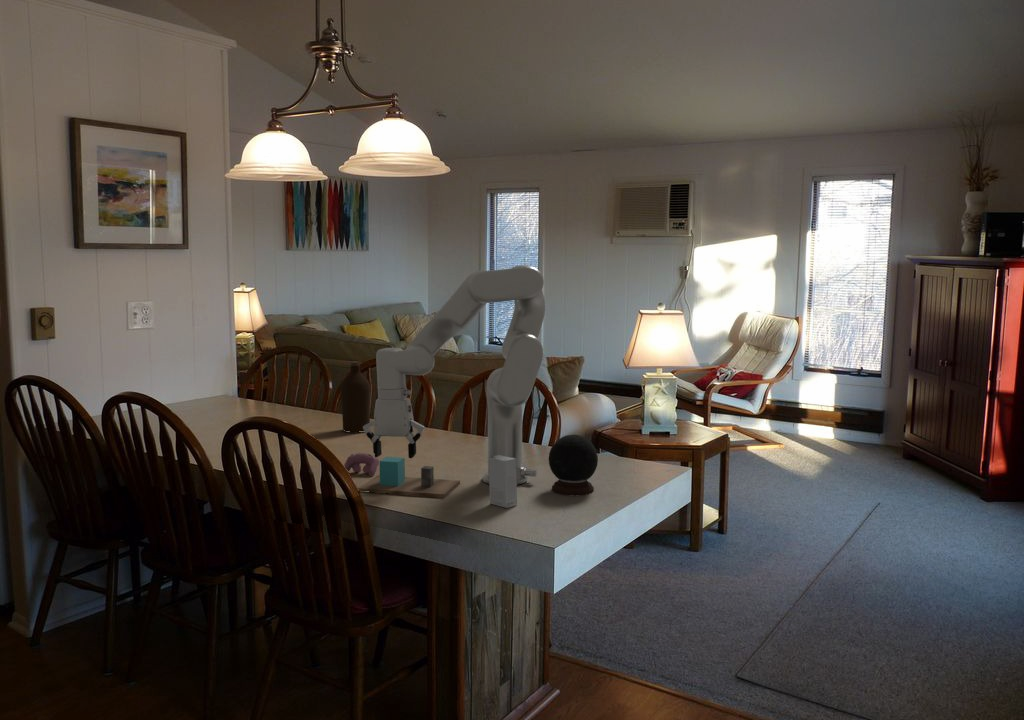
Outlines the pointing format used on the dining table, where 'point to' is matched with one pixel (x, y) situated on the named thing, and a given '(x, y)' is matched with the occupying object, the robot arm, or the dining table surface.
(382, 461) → the turquoise toy cube
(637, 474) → the dining table surface
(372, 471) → the video game controller
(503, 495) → the skincare box
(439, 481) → the flat wooden board
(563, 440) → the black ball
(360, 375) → the olive oil
